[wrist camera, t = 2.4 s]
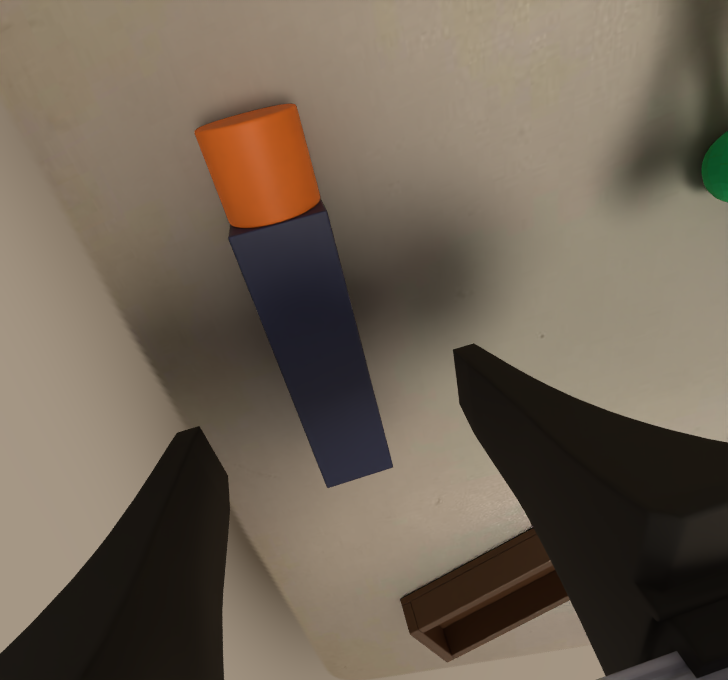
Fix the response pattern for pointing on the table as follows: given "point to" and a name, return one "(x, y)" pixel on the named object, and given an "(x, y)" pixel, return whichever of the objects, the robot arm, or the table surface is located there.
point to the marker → (297, 284)
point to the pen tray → (485, 598)
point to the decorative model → (717, 168)
